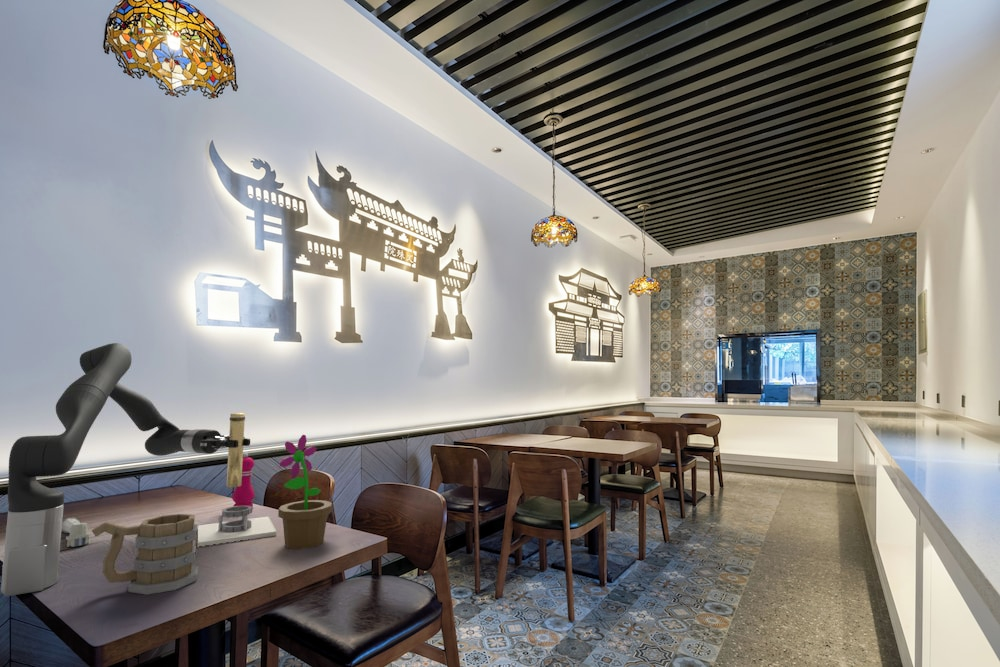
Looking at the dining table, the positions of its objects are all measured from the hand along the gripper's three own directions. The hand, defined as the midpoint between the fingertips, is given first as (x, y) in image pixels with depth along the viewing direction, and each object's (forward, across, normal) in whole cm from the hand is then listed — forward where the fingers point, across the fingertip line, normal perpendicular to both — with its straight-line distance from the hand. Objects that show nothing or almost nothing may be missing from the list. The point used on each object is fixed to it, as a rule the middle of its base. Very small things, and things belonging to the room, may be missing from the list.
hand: (243, 443), depth 152 cm
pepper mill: (-23, +24, +27) cm, 43 cm away
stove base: (-1, 0, +27) cm, 27 cm away
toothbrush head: (-44, -18, +28) cm, 55 cm away
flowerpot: (+26, -2, +27) cm, 37 cm away
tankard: (+12, -38, +27) cm, 48 cm away
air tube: (-3, 0, +13) cm, 13 cm away
